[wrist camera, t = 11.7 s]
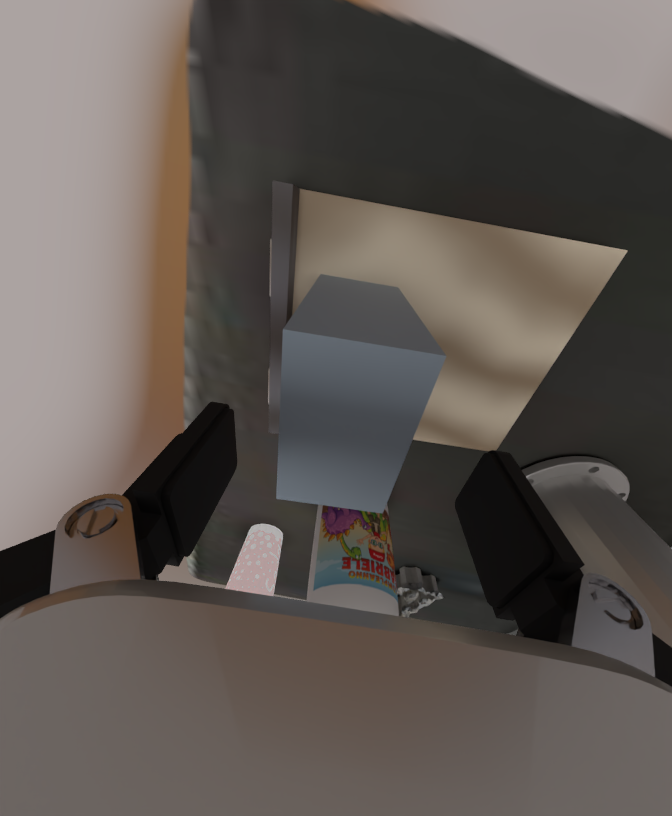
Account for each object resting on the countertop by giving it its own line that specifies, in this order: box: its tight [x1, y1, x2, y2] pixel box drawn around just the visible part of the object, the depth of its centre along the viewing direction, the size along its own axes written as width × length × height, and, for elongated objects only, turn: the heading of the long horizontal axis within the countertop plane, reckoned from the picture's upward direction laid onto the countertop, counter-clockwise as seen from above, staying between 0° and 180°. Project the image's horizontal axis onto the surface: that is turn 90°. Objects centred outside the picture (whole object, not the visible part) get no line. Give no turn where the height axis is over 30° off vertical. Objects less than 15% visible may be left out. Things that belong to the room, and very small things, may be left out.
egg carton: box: [395, 567, 444, 618], centre depth 41 cm, size 11×8×4 cm
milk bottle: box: [307, 504, 399, 616], centre depth 23 cm, size 8×8×20 cm
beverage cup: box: [225, 524, 283, 596], centre depth 31 cm, size 6×6×14 cm
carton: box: [276, 274, 446, 514], centre depth 15 cm, size 8×5×11 cm, turn 172°
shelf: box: [268, 181, 627, 451], centre depth 19 cm, size 16×20×4 cm
